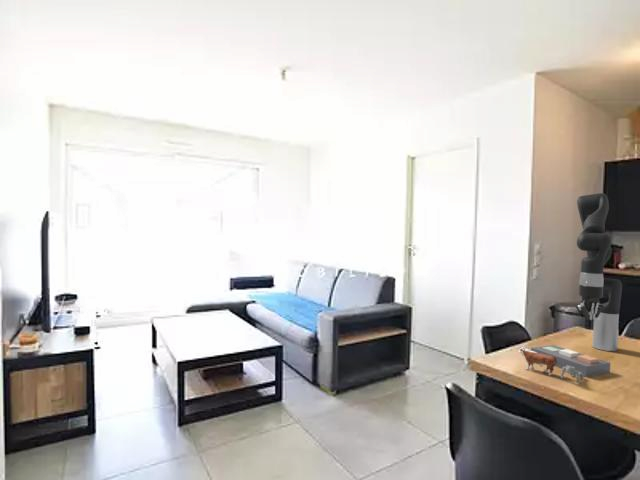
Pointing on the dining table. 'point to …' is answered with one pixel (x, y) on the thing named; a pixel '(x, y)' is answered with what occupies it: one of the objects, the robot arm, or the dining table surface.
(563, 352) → the cream button
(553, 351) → the sage button
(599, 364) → the button panel
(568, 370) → the grey human figurine
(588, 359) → the terracotta button
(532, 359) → the bull figurine
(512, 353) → the dining table surface
